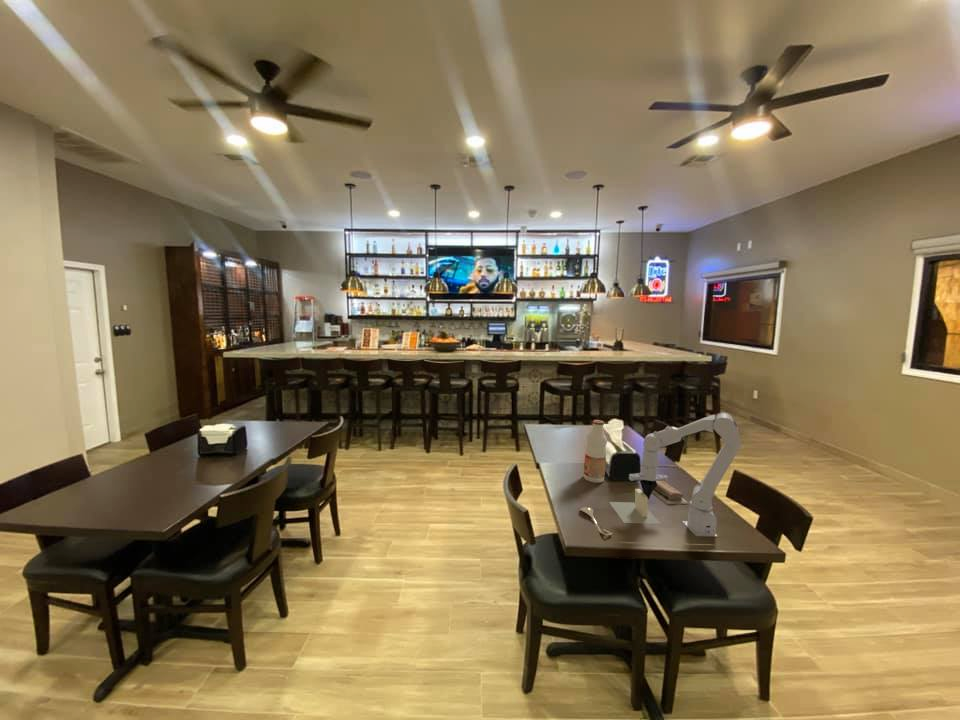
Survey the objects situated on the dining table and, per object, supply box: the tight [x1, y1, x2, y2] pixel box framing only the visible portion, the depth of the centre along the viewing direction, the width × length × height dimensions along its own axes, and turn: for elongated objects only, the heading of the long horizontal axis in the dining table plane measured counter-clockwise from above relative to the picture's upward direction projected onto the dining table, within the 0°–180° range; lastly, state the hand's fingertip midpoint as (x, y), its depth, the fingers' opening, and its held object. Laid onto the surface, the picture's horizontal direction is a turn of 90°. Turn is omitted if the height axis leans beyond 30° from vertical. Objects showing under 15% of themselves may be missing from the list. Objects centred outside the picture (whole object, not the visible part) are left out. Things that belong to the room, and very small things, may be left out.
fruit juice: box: [582, 419, 608, 484], centre depth 184 cm, size 9×9×28 cm
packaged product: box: [651, 481, 689, 505], centre depth 172 cm, size 18×5×10 cm
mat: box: [608, 501, 662, 525], centre depth 155 cm, size 16×14×1 cm
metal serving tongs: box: [579, 506, 613, 536], centre depth 146 cm, size 20×4×5 cm
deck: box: [634, 488, 649, 517], centre depth 154 cm, size 7×2×8 cm, turn 2°
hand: (646, 498), depth 154 cm, fingers closed
